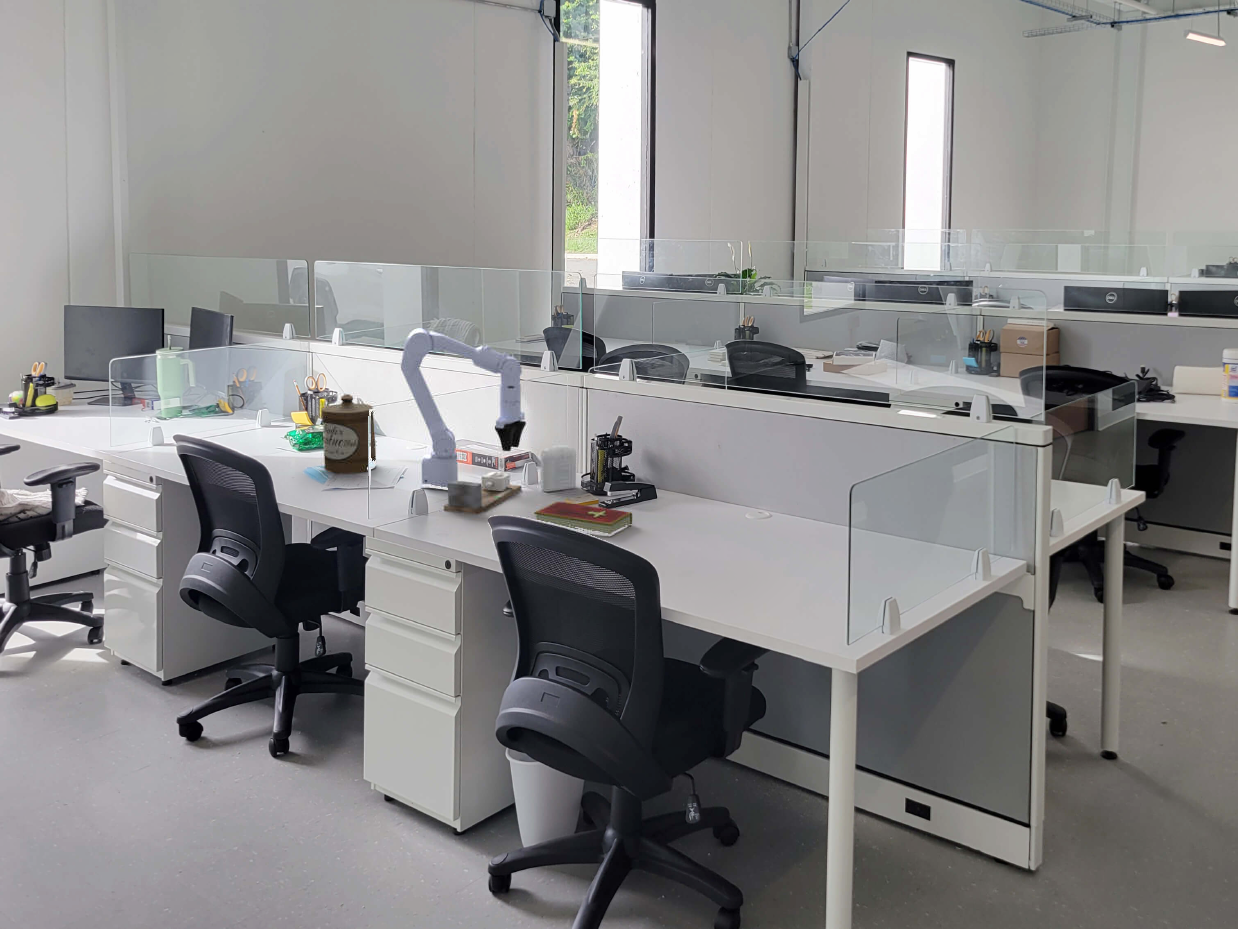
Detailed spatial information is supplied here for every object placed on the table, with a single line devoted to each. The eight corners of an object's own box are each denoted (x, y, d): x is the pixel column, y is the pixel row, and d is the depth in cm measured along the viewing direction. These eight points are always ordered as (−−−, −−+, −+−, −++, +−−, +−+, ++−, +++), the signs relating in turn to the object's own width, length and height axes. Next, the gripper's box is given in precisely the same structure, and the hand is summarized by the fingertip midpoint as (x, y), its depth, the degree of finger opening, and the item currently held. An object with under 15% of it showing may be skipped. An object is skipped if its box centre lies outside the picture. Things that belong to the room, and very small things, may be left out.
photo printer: (570, 485, 304) (570, 442, 301) (578, 488, 301) (578, 445, 298) (538, 489, 298) (538, 446, 296) (546, 493, 295) (546, 449, 292)
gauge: (476, 491, 290) (476, 476, 289) (489, 484, 297) (489, 470, 296) (503, 494, 287) (503, 479, 286) (515, 487, 294) (515, 472, 294)
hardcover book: (557, 515, 276) (557, 499, 275) (632, 527, 267) (632, 510, 266) (534, 527, 265) (534, 511, 264) (610, 540, 256) (610, 523, 255)
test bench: (443, 510, 277) (443, 483, 275) (488, 486, 301) (488, 461, 299) (479, 514, 274) (478, 487, 272) (521, 490, 298) (521, 464, 296)
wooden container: (314, 469, 317) (310, 395, 312) (349, 459, 329) (346, 388, 324) (352, 476, 310) (348, 400, 305) (386, 466, 322) (384, 393, 317)
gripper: (512, 406, 289) (512, 455, 293) (534, 397, 303) (534, 444, 306) (488, 404, 292) (489, 453, 295) (511, 395, 305) (511, 442, 308)
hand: (510, 448), depth 301 cm, fingers open, 5 cm apart
